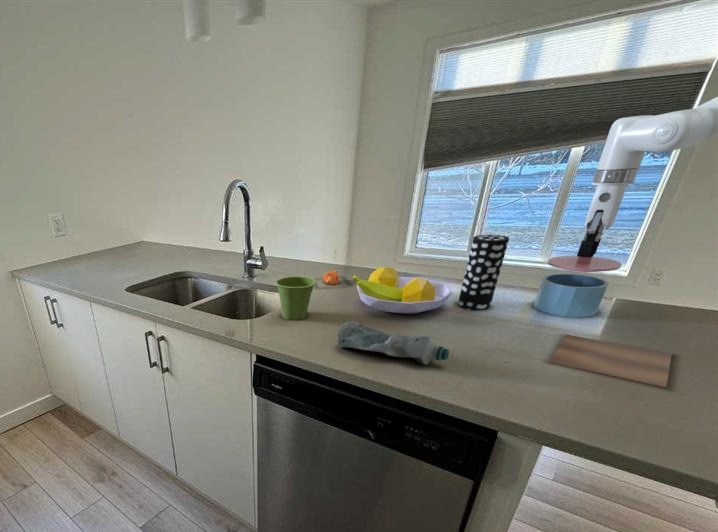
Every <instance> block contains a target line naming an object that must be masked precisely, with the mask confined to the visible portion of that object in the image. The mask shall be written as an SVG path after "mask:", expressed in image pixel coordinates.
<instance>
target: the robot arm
mask: <svg viewBox="0 0 718 532" xmlns="http://www.w3.org/2000/svg"><path fill="white" fill-rule="evenodd" d="M608 131H609V132H608V134H607V137H606V140H605V143H604V146H603V149H602V152H601V155H600V158H599V161H598V164H597V167H596V170H595V173H594V176H593V178H592V181H591V185H592V186H596V187H595V190H594V193H593V196H592V199H591V202H590V205H589V208H588V211H587V215H586V217H585V222H584V225H583V228H585V229H586V231H585V234H584V236H583V239H582V240H581V243H580V246H579V249H578V252H577V254H576V256H578V257H590V258H591V257H595V256H594V255H596V253H597V251H598V248H599V245H600V244H601V243H600V242H601V240H602V235H603V232H604V229H605V230H608V229H610V228H611V227H612V226H613V225H614V223H615V220H616V217H617V215H618V212H619V209H620V206H621V204H622V201H623V199H624V196H625V193H626V189H627V186H628V185H633V184H634V183H635V180H636V178H637V175H638V172H639V170H640V168H641V165H642V162H643V161H644V160H643V159H644V157H645V156H646V155H645V154H646V152H650V153H667V152H671V151H672V152H673V151H677V150H683V149H687V148H691V147H693V146H696V145H698V144H700V143H703V142H705V141H708V140H709V139H712V138H714V137H716V136H718V96H716V97H713V98H712V99H710V100H707V101H706V102H704V103H702V104H700V105H698V106H696V107H694V108H690V109H682V110H676V111H671V112H666V113H661V114H656V115H653V114H646V115H634V116H627V117H621V118H618V119H616V120H615V121H614V122H613V123H612V124H611V127H610V129H609V130H608ZM599 236H600V238H599ZM598 238H599V241H598Z"/></svg>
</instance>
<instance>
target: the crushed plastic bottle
mask: <svg viewBox="0 0 718 532" xmlns="http://www.w3.org/2000/svg"><path fill="white" fill-rule="evenodd" d="M337 345H338V347H339V348H340V349H345V348H352V349H357V350H361V351H369V352H370V351H371V352H377V353H382V354H385V355H387V356H390V357H397V358H412V359H413V360H414V361H417V362H418V363H419V364H422V365H424V366H426V365H428V364H429V363H430V362H431V361H432V360H435V361H447V359H448V358H449V354H450V349H449V348H445V347H444V346H438V345H437V342H436V340H435V339H434V338H433V337H431V336H427V335H426V336H410V335H407V334H405V333H404V334H403V333H399V332H398V333H397V332H396V333H394V334H389V333H386V332H383V331H380V330H377V329H375V328H372V327H369V326H367V325H365V324H362V323H359V322H358V321H355V320H347V321H346V322H344V323H343V325H342V327H341V328H340V330H338V332H337Z"/></svg>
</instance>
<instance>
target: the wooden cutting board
mask: <svg viewBox="0 0 718 532" xmlns="http://www.w3.org/2000/svg"><path fill="white" fill-rule="evenodd" d="M672 355H673V353H669V352H664V351H658V350H653V349H647V348H641V347H636V346H630V345H625V344H619V343H614V342H608V341H603V340H597V339H593V338H586V337H581V336H576V335H570V334H565V336H564V338H563V340H562V341H561V343H560V344H559V346H558V347H557V349H556V351H555V352H554V354H553V355H552V357H551V358H550V360H549V361H548V363H549V364H552V365H558V366H562V367H567V368H571V369H576V370H579V371H585V372H590V373H594V374H599V375H602V376H607V377H612V378H616V379H621V380H625V381H629V382H634V383H638V384H642V385H647V386H653V387H657V388H661V389H667V387H668V381H669V374H670V369H671V368H670V367H671V363H672V362H671V361H672Z"/></svg>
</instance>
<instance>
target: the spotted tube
mask: <svg viewBox="0 0 718 532" xmlns="http://www.w3.org/2000/svg"><path fill="white" fill-rule="evenodd" d="M509 241H510V237H509V236H506V235H499V234H478V235H475V236H473V238H472V241H471V247H470V251H469V254H468V259H467V262H466V268H465V272H464V275H463V280H462V284H461V288H460V293H459V296H458V302H457V307H459V308H461V309H464V310H468V311H475V312H476V311H478V312H479V311H480V312H481V311H487V310H489V309H490V308H491V306H492V303H493V299H494V295H495V291H496V288H497V285H498V281H499V277H500V275H501V274H500V273H501V270H502V267H503V262H504V259H505V256H506V252H507V249H508V245H509Z"/></svg>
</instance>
